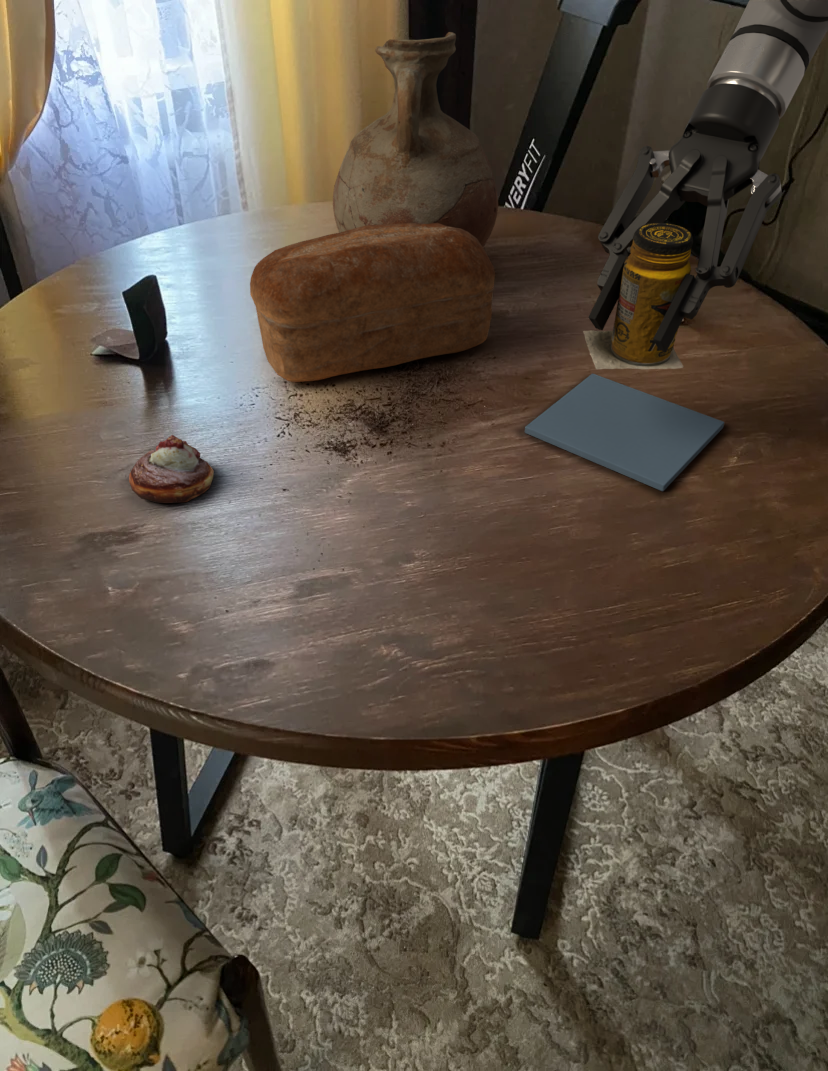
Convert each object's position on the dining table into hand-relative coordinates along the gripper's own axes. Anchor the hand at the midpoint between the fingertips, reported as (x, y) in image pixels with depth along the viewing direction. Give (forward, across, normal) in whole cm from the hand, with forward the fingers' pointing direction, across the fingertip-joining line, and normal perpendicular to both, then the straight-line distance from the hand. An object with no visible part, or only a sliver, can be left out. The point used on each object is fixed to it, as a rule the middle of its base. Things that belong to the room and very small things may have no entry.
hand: (627, 334), depth 78 cm
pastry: (+32, +30, +14) cm, 46 cm away
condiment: (0, +1, -5) cm, 5 cm away
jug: (-4, +41, -22) cm, 47 cm away
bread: (+9, +32, -9) cm, 34 cm away
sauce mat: (+6, 0, -12) cm, 13 cm away
